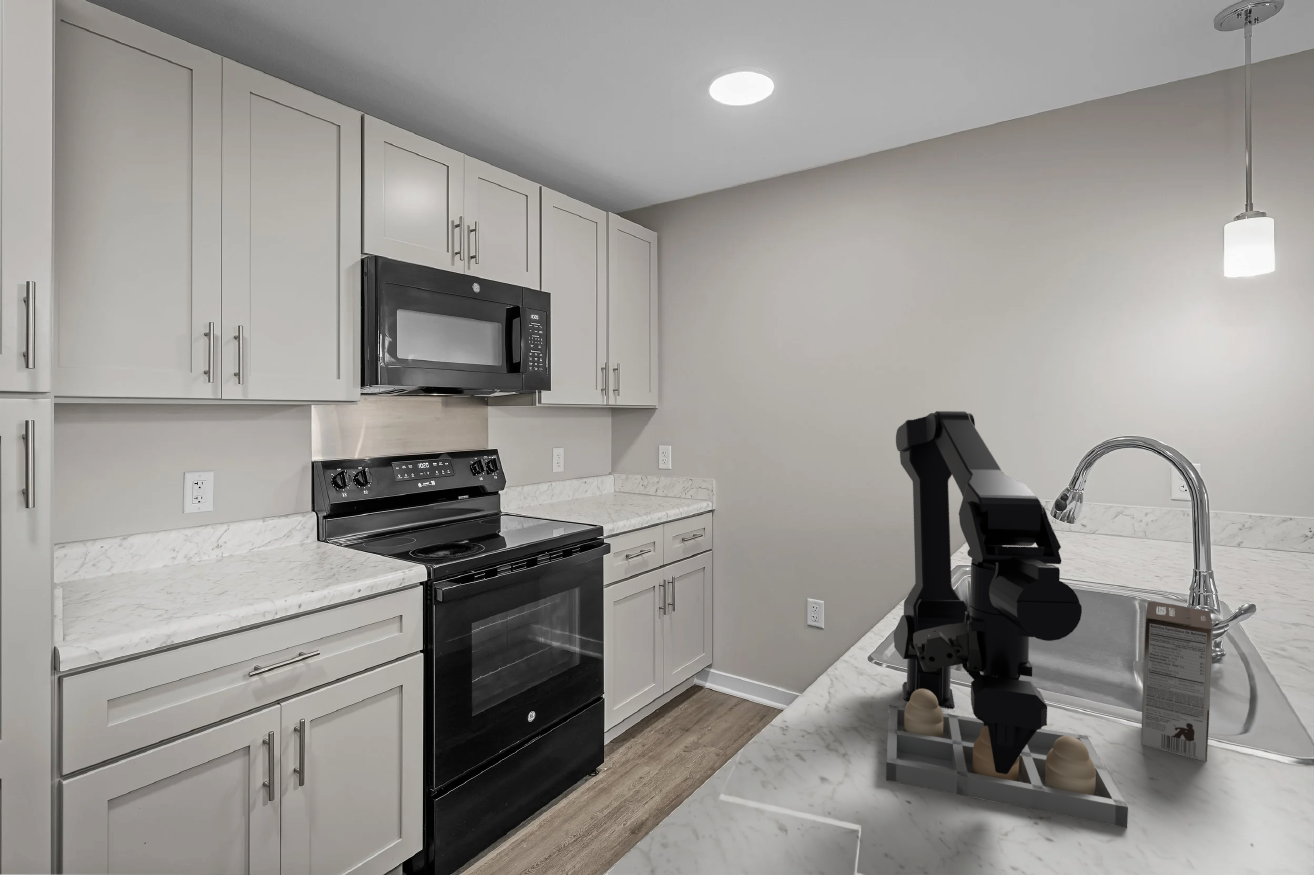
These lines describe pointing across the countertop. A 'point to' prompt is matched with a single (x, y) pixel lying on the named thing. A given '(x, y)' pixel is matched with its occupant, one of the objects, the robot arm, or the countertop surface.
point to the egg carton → (951, 772)
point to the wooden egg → (989, 759)
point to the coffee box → (1177, 679)
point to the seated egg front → (1070, 767)
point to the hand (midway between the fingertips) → (995, 750)
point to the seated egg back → (923, 714)
